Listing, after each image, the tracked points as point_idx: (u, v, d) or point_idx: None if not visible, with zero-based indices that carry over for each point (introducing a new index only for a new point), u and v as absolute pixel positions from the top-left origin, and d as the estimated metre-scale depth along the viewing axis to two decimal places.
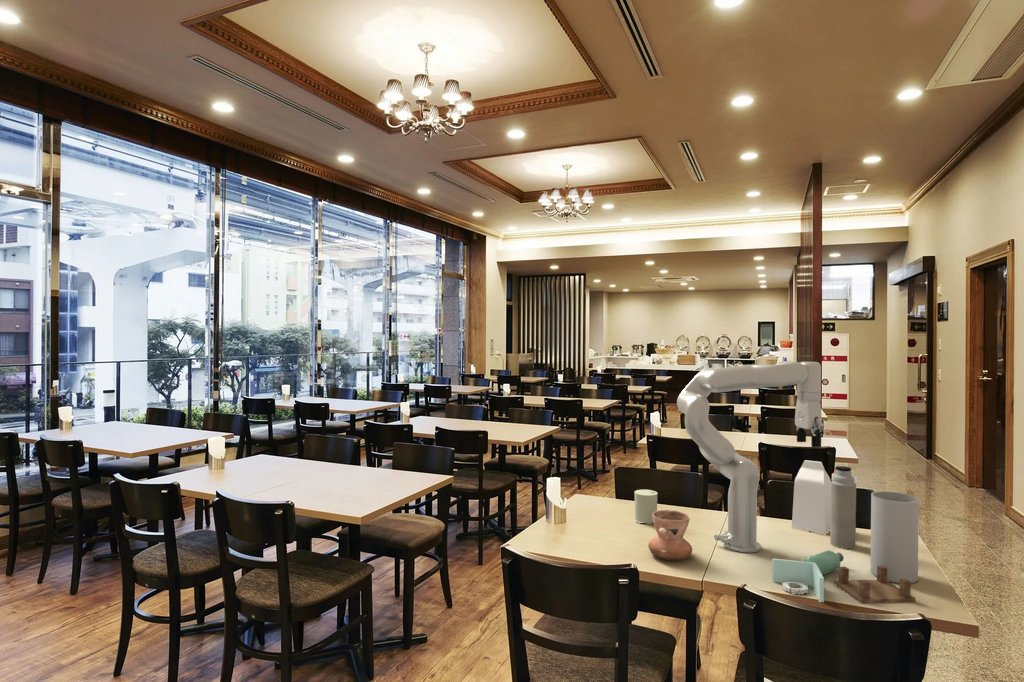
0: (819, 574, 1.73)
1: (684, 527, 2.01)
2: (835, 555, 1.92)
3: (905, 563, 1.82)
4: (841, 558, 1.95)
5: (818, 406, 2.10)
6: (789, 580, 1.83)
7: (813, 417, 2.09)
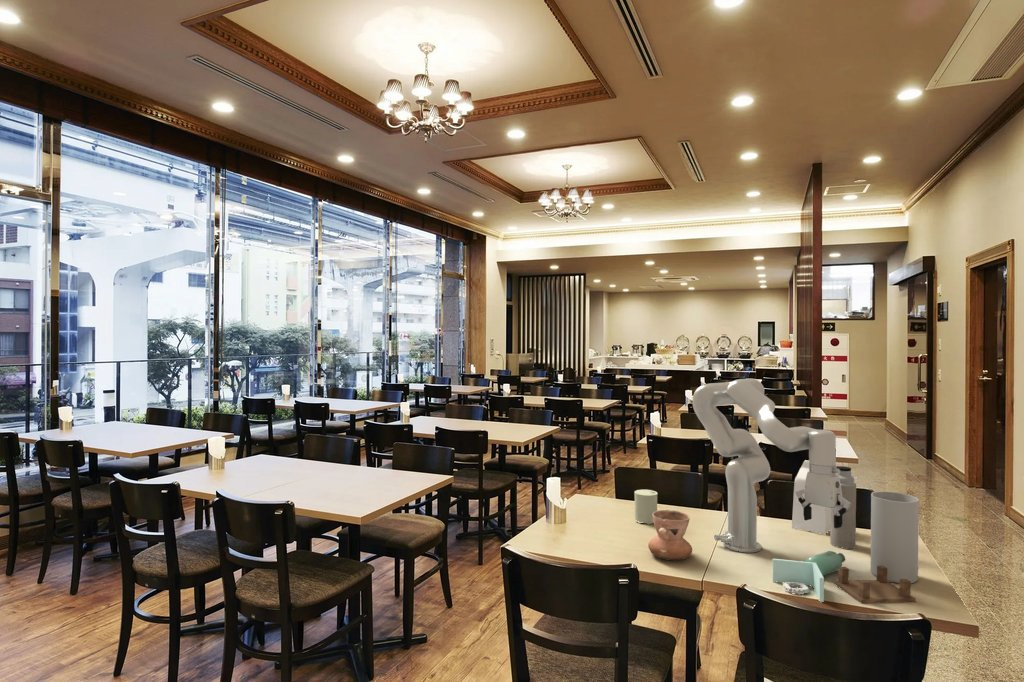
0: (819, 574, 1.73)
1: (684, 527, 2.01)
2: (838, 557, 1.91)
3: (905, 563, 1.82)
4: (843, 559, 1.95)
5: None
6: (789, 580, 1.83)
7: None
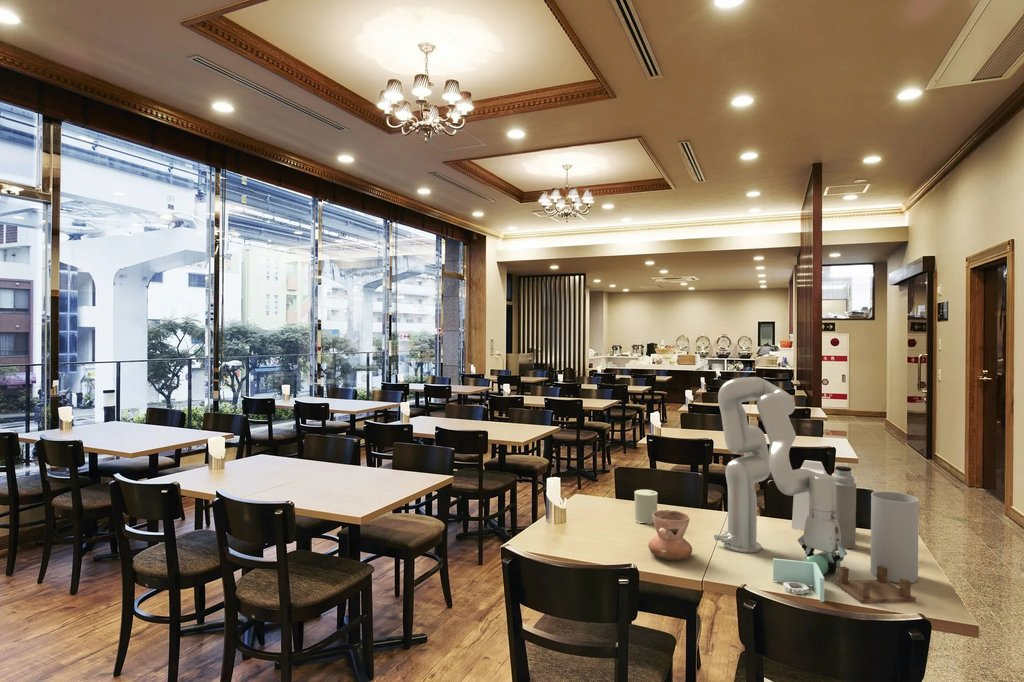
0: (819, 574, 1.73)
1: (684, 527, 2.01)
2: None
3: (905, 563, 1.82)
4: (841, 558, 1.95)
5: None
6: (790, 580, 1.83)
7: None
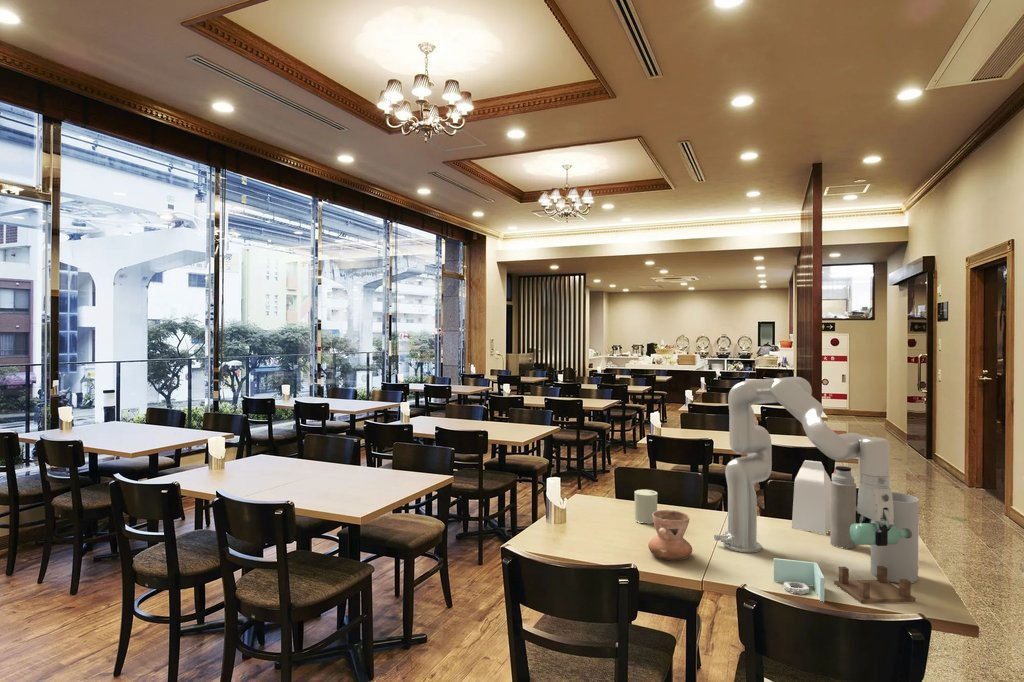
0: (820, 574, 1.73)
1: (684, 527, 2.01)
2: (894, 528, 1.75)
3: (905, 563, 1.82)
4: (908, 534, 1.76)
5: None
6: (790, 580, 1.83)
7: None
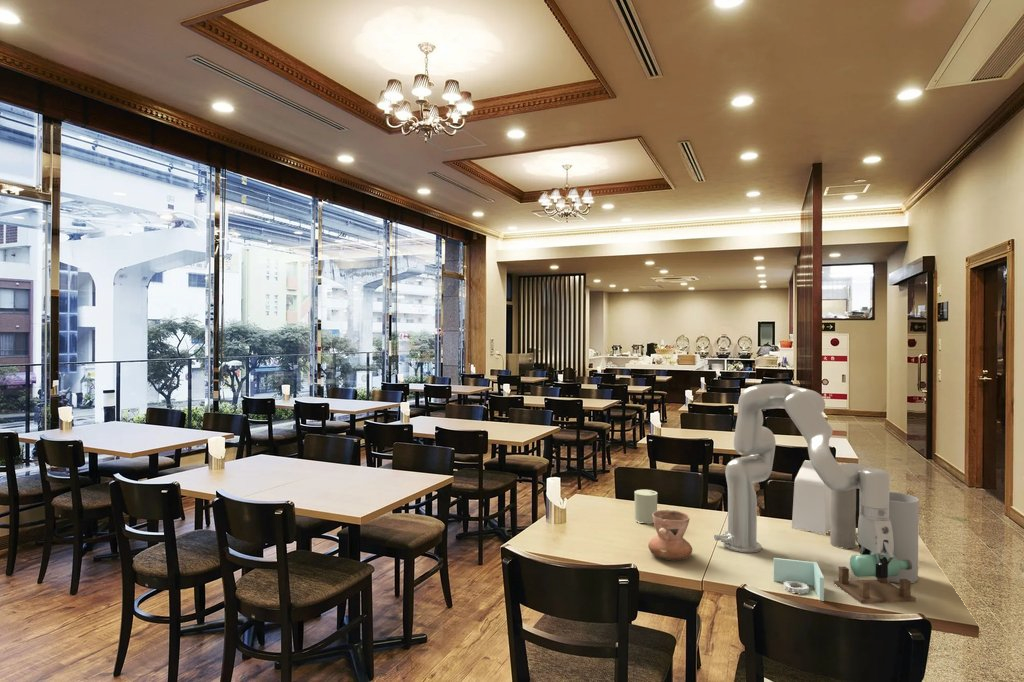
0: (819, 574, 1.73)
1: (684, 527, 2.01)
2: (894, 559, 1.75)
3: None
4: (908, 565, 1.76)
5: None
6: (790, 579, 1.83)
7: None
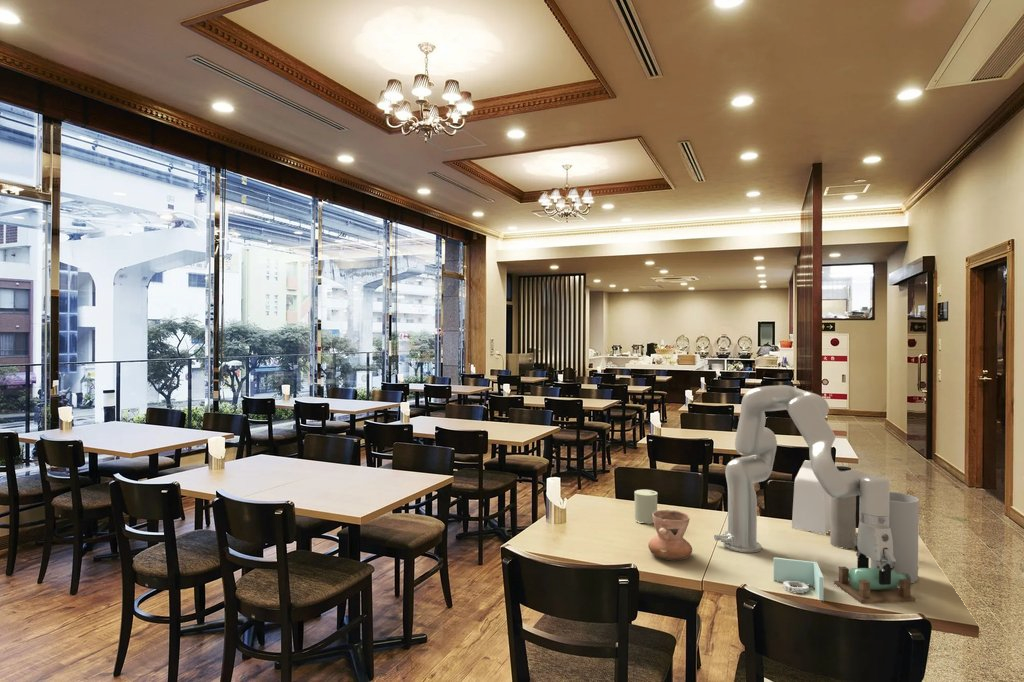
0: (819, 573, 1.73)
1: (684, 527, 2.01)
2: (893, 573, 1.75)
3: (905, 563, 1.82)
4: (907, 579, 1.76)
5: None
6: (790, 579, 1.83)
7: None
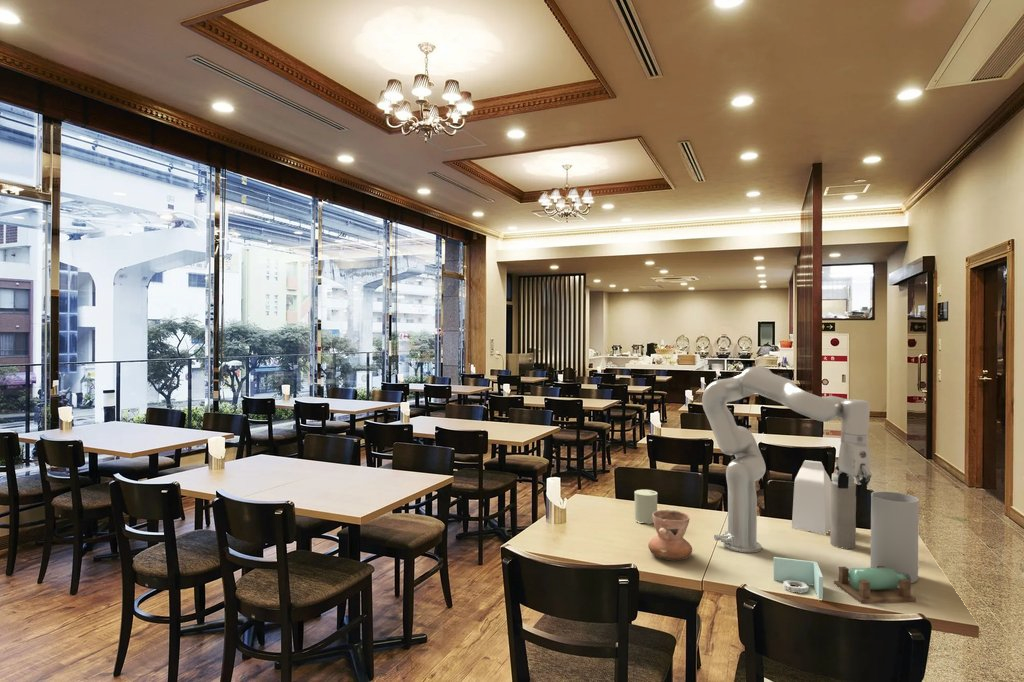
0: (819, 573, 1.73)
1: (684, 527, 2.01)
2: (893, 573, 1.75)
3: (905, 563, 1.82)
4: (907, 579, 1.76)
5: None
6: (790, 579, 1.84)
7: None
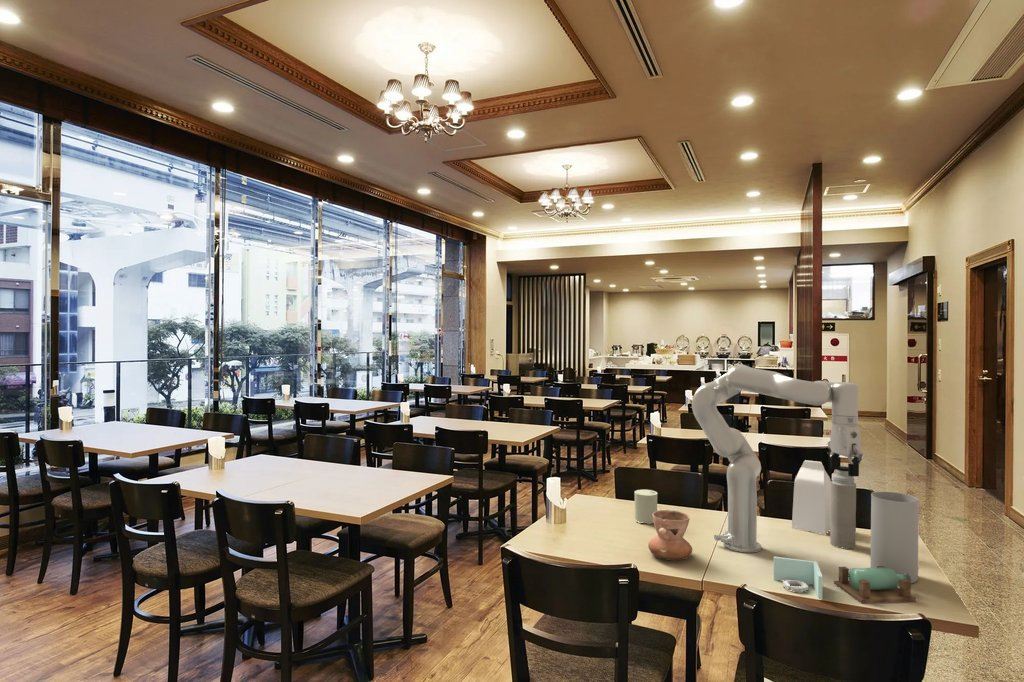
0: (818, 573, 1.74)
1: (684, 527, 2.01)
2: (893, 573, 1.75)
3: (905, 563, 1.82)
4: (907, 579, 1.76)
5: None
6: (790, 578, 1.84)
7: None
